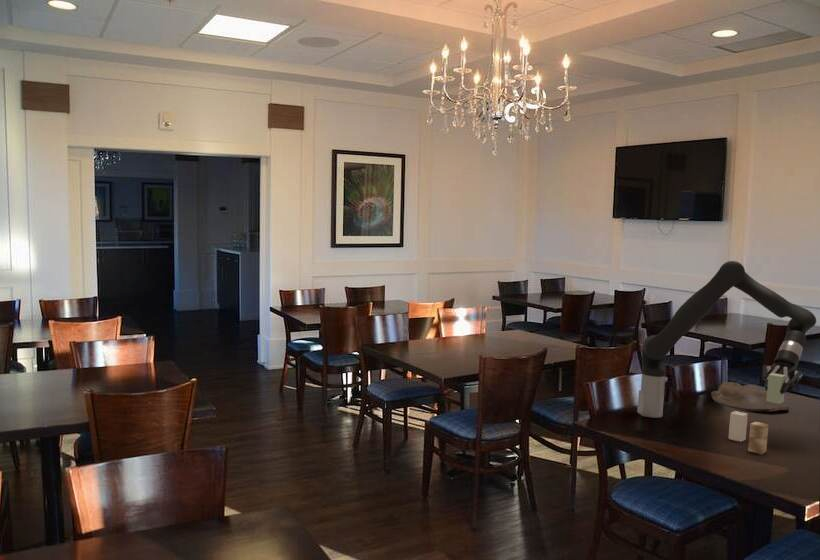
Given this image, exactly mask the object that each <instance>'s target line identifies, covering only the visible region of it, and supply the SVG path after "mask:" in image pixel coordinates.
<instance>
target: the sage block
mask: <svg viewBox="0 0 820 560" xmlns="http://www.w3.org/2000/svg"><path fill="white" fill-rule="evenodd" d="M767 377H768V389H767V391H766V395H767V398H766V401H768V402H773V403H778V404H780V403H781V404H783V403H784V402H785V394H786V393H784V394H781V393H780V389H781V387H782V385H783V383H784V379H785V375H782V374H776V373H772V374H770V373H769V374H768V375H767Z"/></svg>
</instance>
